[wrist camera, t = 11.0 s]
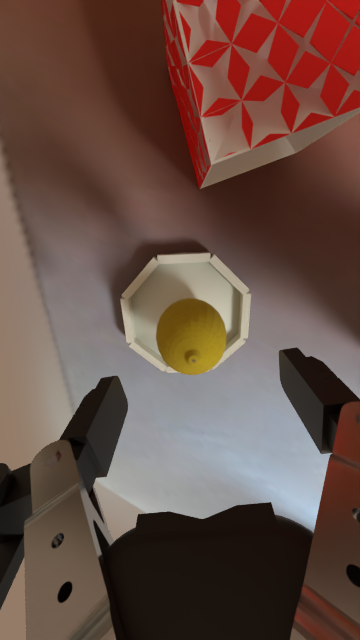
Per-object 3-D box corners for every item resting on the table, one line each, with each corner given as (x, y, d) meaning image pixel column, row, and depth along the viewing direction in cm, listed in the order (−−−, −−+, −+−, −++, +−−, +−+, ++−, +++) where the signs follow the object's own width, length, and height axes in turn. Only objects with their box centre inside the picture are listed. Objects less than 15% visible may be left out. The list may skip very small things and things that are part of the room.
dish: (182, 223, 19) (182, 222, 18) (268, 309, 22) (275, 315, 21) (104, 316, 23) (97, 323, 21) (188, 380, 26) (188, 391, 24)
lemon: (149, 323, 22) (134, 369, 15) (181, 276, 20) (184, 302, 13) (194, 351, 23) (202, 408, 16) (229, 310, 22) (256, 351, 14)
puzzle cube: (281, 15, 15) (379, -194, 7) (297, 152, 18) (379, 99, 10) (166, 67, 16) (152, -72, 8) (198, 190, 19) (209, 165, 11)
